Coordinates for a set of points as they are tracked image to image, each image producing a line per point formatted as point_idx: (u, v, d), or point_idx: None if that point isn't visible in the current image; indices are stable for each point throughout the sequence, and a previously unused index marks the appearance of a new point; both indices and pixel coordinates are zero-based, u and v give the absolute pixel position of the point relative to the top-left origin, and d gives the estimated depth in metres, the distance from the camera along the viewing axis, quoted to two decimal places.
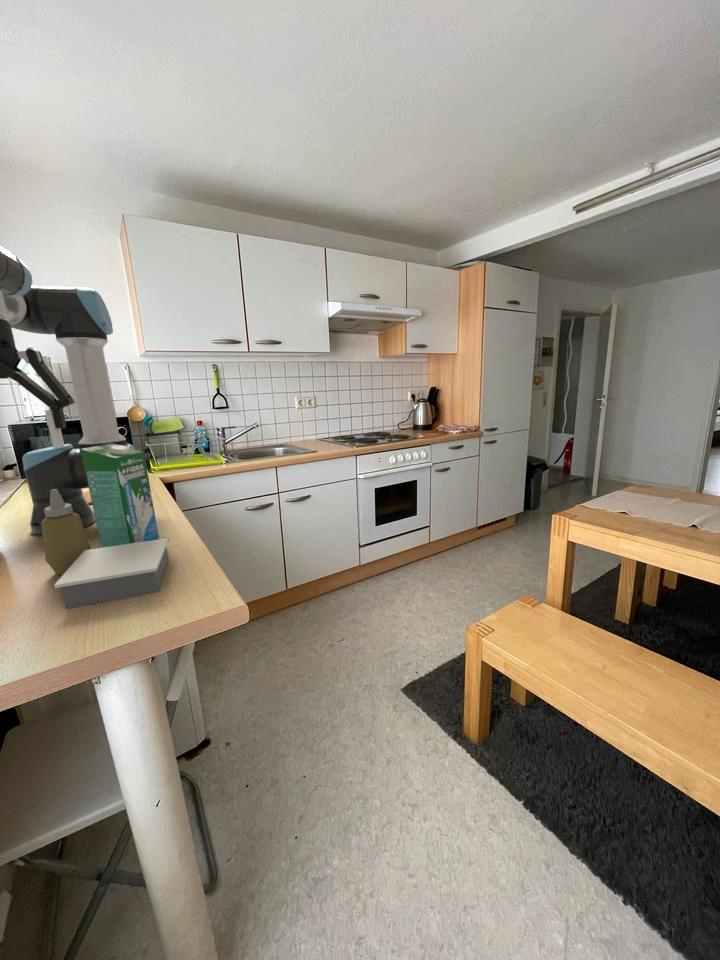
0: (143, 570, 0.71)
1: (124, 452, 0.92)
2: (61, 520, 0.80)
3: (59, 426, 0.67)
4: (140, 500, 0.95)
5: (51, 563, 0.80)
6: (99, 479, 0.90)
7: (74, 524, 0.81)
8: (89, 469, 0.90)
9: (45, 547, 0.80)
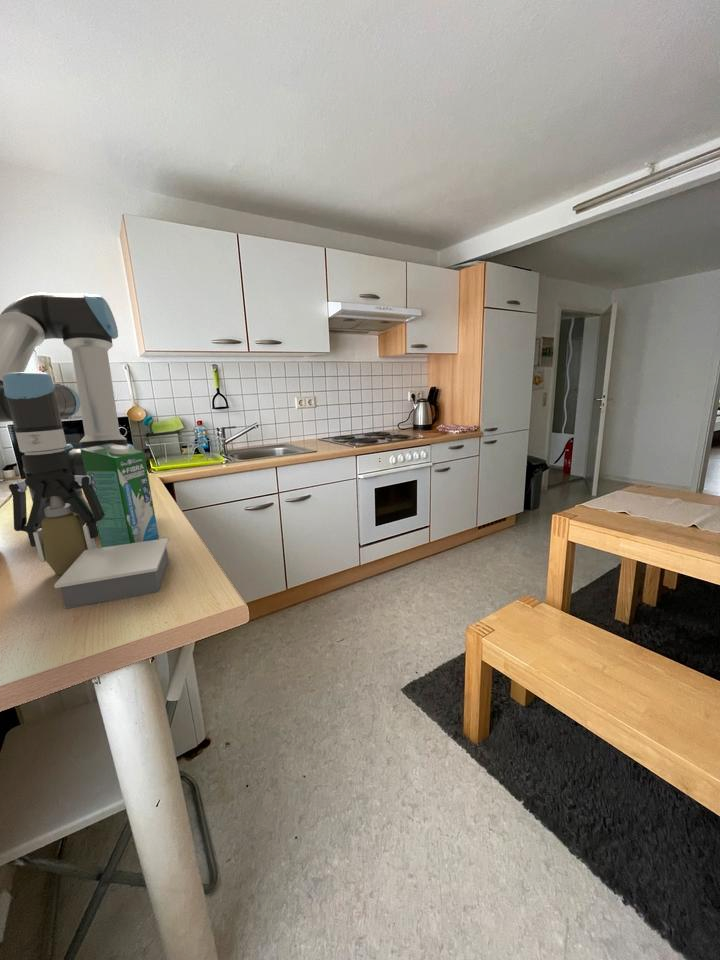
0: (143, 570, 0.71)
1: (124, 452, 0.92)
2: (61, 520, 0.80)
3: (93, 536, 0.84)
4: (140, 500, 0.95)
5: (51, 563, 0.80)
6: (99, 479, 0.90)
7: (74, 524, 0.81)
8: (89, 469, 0.90)
9: (45, 547, 0.80)
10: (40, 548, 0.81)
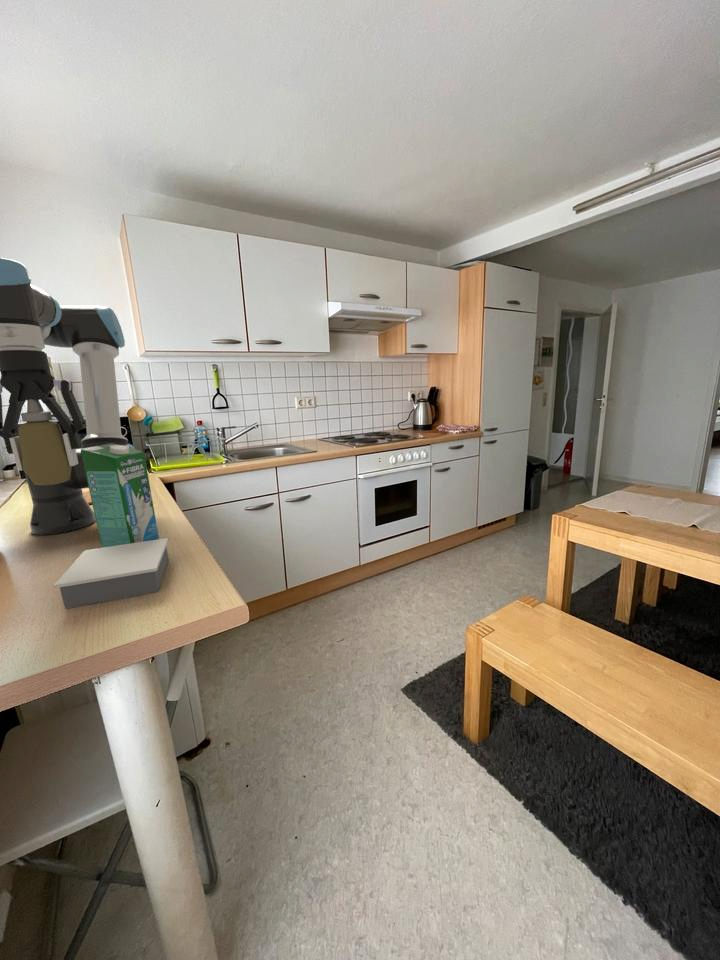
0: (143, 570, 0.71)
1: (124, 452, 0.92)
2: (39, 425, 0.75)
3: (74, 447, 0.79)
4: (140, 500, 0.95)
5: (29, 471, 0.76)
6: (99, 479, 0.90)
7: (53, 431, 0.77)
8: (89, 469, 0.90)
9: (22, 454, 0.76)
10: (17, 455, 0.76)
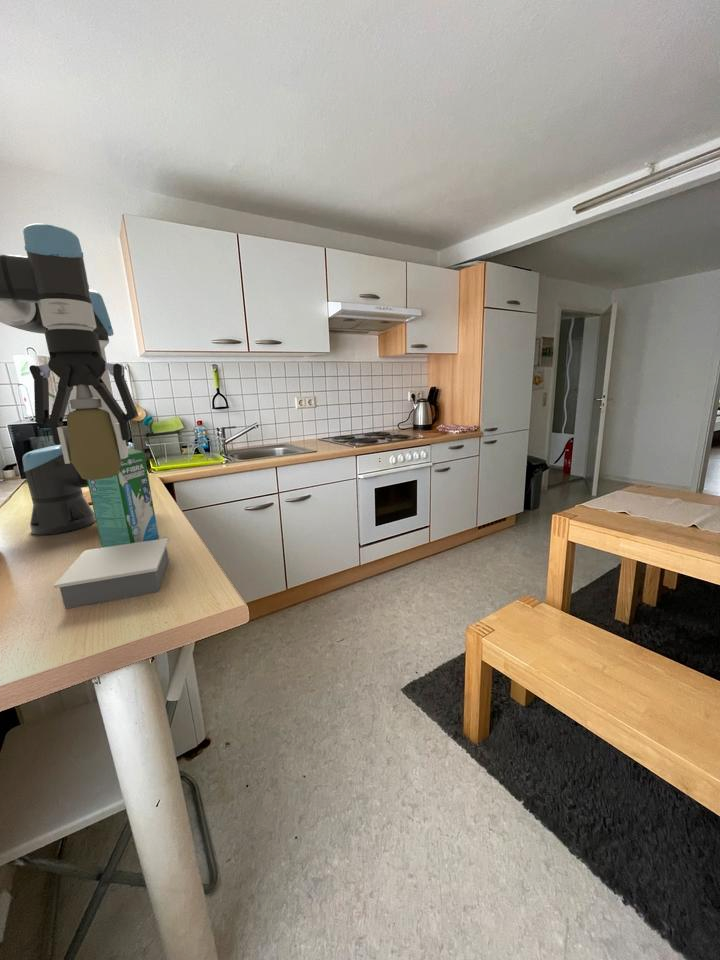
0: (143, 570, 0.71)
1: None
2: (90, 412, 0.68)
3: (125, 438, 0.72)
4: (140, 500, 0.95)
5: (78, 464, 0.69)
6: (99, 479, 0.90)
7: (104, 419, 0.70)
8: None
9: (71, 445, 0.68)
10: (65, 447, 0.69)
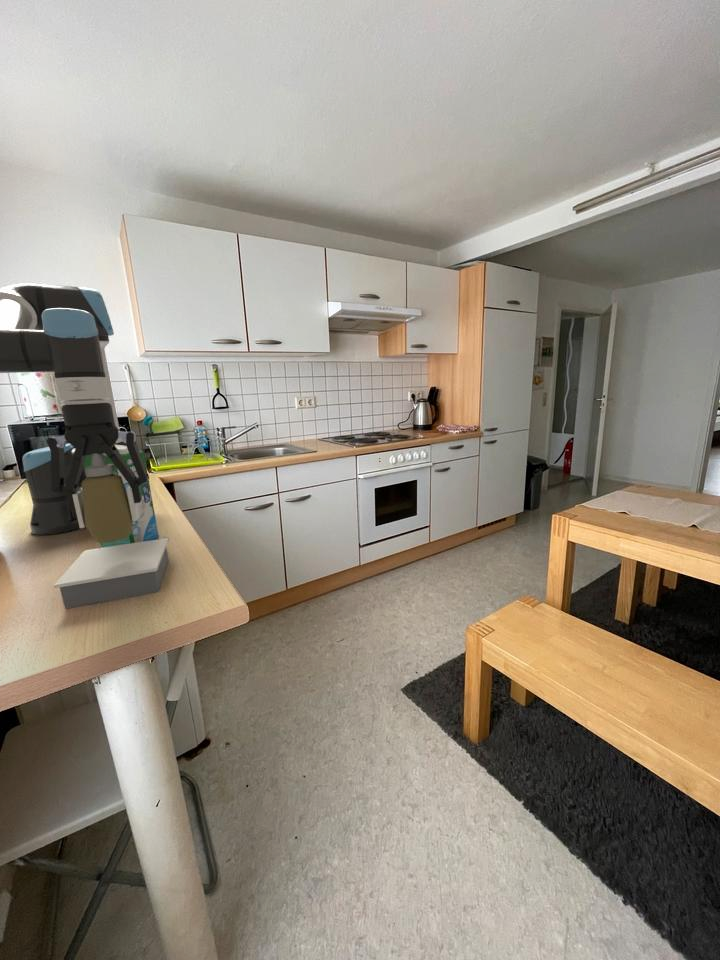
0: (143, 570, 0.71)
1: (124, 452, 0.92)
2: (104, 480, 0.71)
3: (137, 501, 0.75)
4: None
5: (92, 529, 0.71)
6: None
7: (117, 485, 0.72)
8: None
9: (85, 511, 0.71)
10: (80, 512, 0.72)
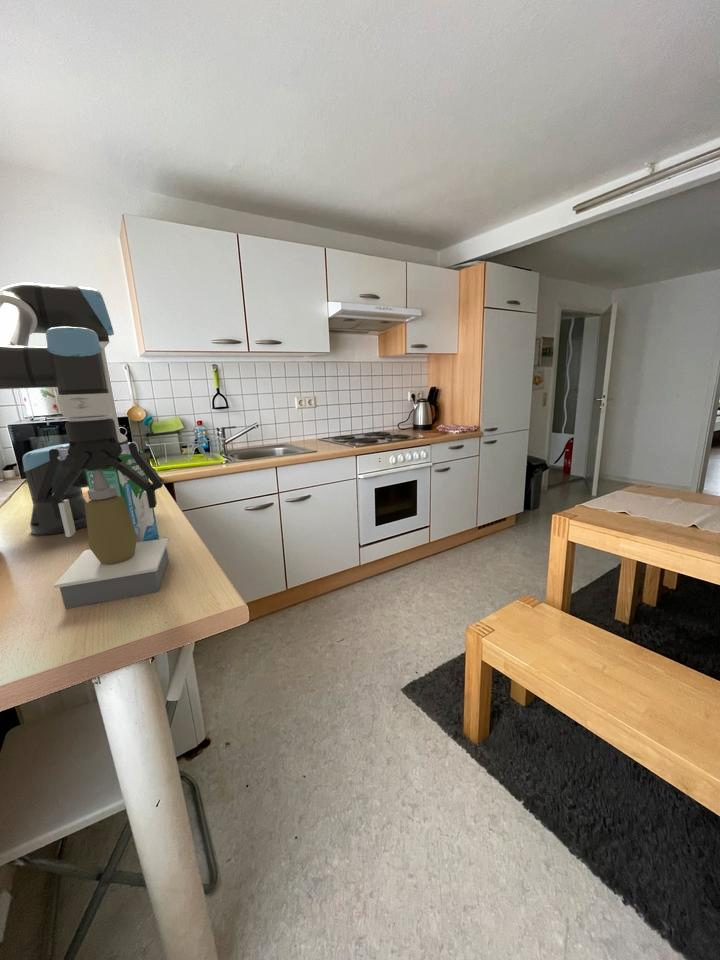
0: (143, 570, 0.71)
1: (124, 452, 0.92)
2: (107, 503, 0.72)
3: (152, 506, 0.76)
4: (140, 500, 0.95)
5: (96, 551, 0.72)
6: None
7: (120, 507, 0.74)
8: None
9: (89, 533, 0.72)
10: (66, 521, 0.71)
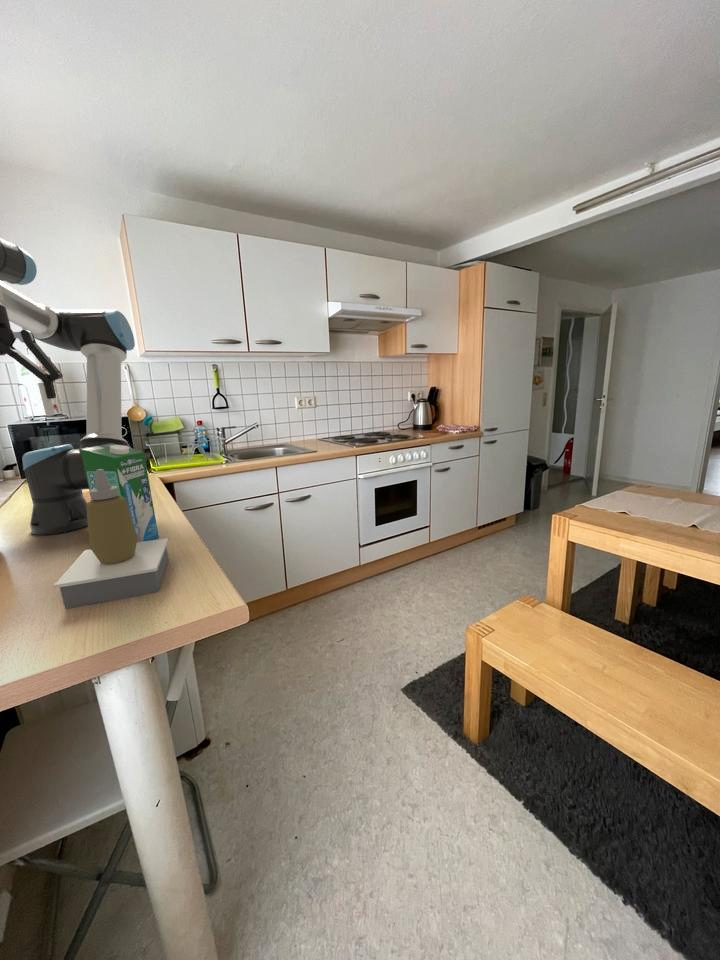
0: (143, 570, 0.71)
1: (124, 452, 0.92)
2: (108, 503, 0.72)
3: (50, 397, 0.79)
4: (140, 500, 0.95)
5: (96, 551, 0.72)
6: None
7: (121, 507, 0.74)
8: (89, 469, 0.90)
9: (90, 533, 0.72)
10: None
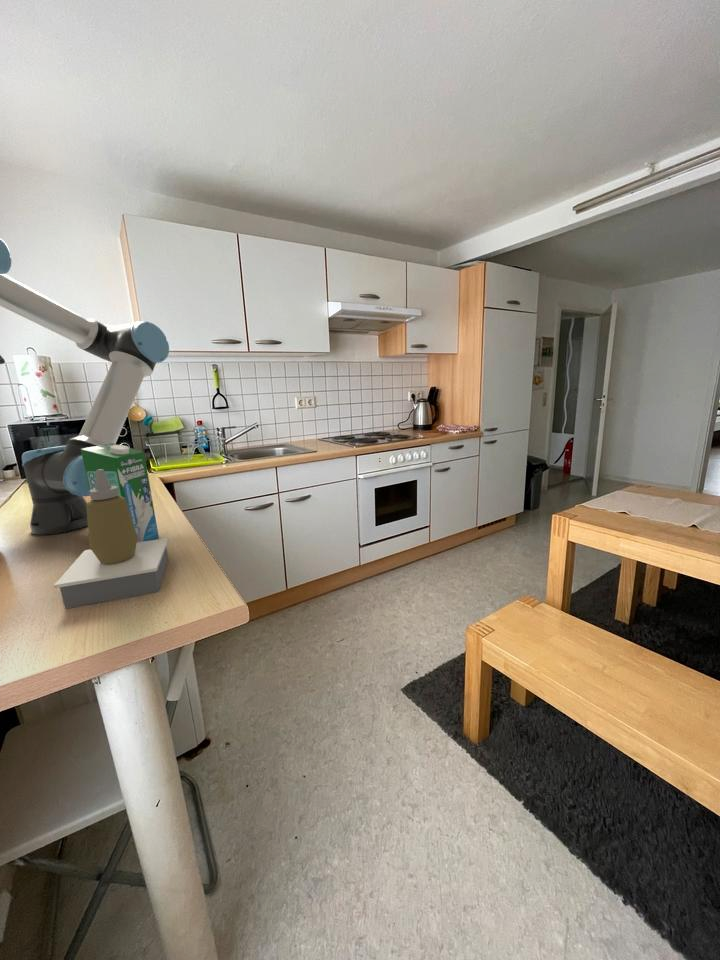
0: (143, 570, 0.71)
1: (124, 452, 0.92)
2: (108, 503, 0.72)
3: None
4: (140, 500, 0.95)
5: (96, 551, 0.72)
6: None
7: (121, 507, 0.74)
8: (89, 469, 0.90)
9: (90, 533, 0.72)
10: None
